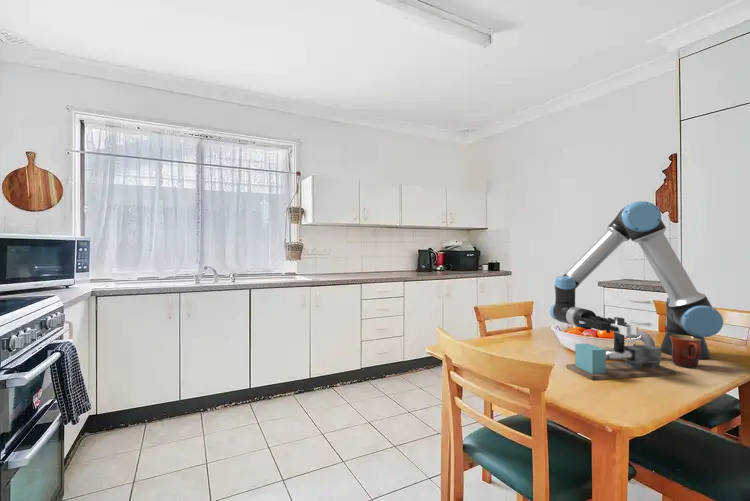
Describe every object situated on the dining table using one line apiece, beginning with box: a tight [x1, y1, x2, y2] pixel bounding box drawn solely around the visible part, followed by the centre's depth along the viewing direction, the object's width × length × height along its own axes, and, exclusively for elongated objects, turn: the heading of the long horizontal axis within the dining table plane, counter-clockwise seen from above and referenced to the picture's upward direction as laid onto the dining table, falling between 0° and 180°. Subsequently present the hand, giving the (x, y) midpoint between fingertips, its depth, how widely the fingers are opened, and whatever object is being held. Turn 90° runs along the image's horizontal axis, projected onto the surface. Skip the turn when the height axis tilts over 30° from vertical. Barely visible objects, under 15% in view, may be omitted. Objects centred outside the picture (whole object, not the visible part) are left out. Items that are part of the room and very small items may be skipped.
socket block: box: [574, 343, 607, 374], centre depth 125 cm, size 5×8×8 cm, turn 9°
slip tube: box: [606, 316, 634, 362], centre depth 128 cm, size 18×3×14 cm, turn 99°
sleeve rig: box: [565, 344, 677, 381], centre depth 127 cm, size 32×12×8 cm, turn 99°
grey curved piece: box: [624, 330, 656, 347], centre depth 144 cm, size 10×4×10 cm, turn 40°
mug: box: [670, 335, 701, 369], centre depth 131 cm, size 12×9×10 cm
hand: (632, 331), depth 122 cm, fingers closed on slip tube, 3 cm apart
